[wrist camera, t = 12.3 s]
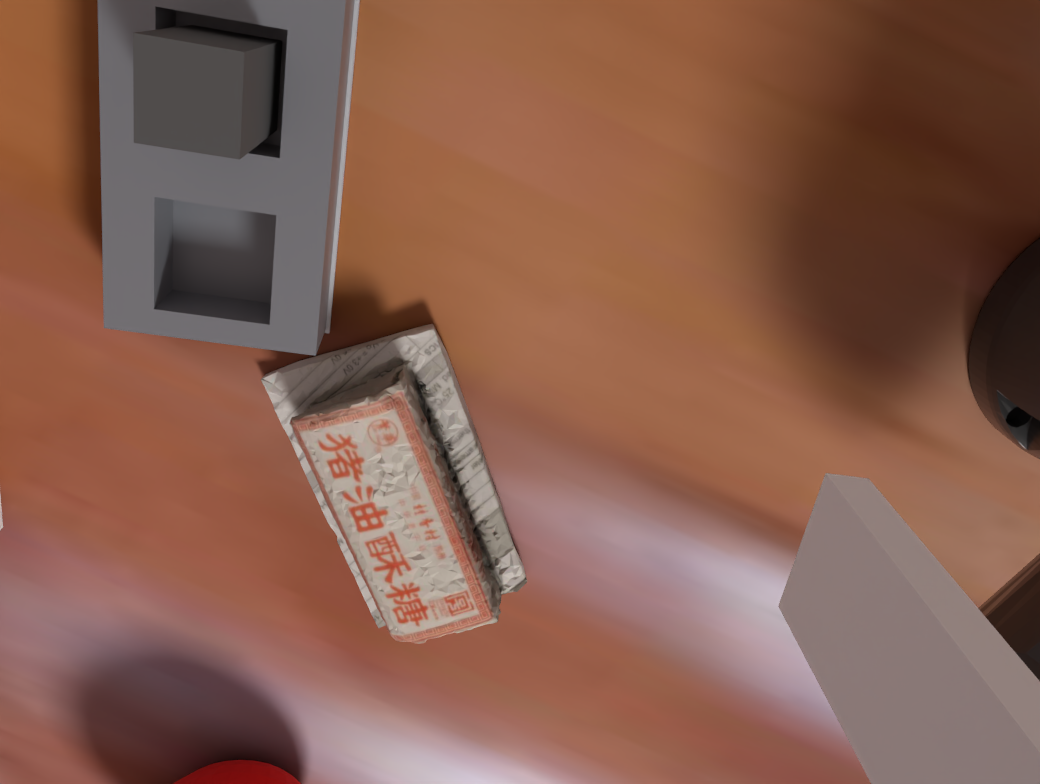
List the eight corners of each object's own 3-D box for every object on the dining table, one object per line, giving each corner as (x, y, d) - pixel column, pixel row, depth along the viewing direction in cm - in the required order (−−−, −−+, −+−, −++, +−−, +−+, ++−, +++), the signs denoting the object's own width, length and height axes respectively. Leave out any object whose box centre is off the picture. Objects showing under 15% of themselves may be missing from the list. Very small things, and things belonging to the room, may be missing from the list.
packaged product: (535, 624, 51) (372, 670, 52) (529, 573, 55) (379, 616, 56) (433, 348, 43) (243, 406, 44) (435, 315, 48) (263, 368, 48)
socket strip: (378, -202, 38) (369, -222, 34) (330, 331, 47) (319, 360, 44) (123, -256, 36) (86, -284, 33) (127, 304, 46) (99, 331, 42)
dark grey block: (282, 40, 40) (244, 52, 33) (277, 129, 42) (239, 159, 35) (191, 24, 40) (133, 32, 33) (190, 115, 41) (133, 142, 34)
